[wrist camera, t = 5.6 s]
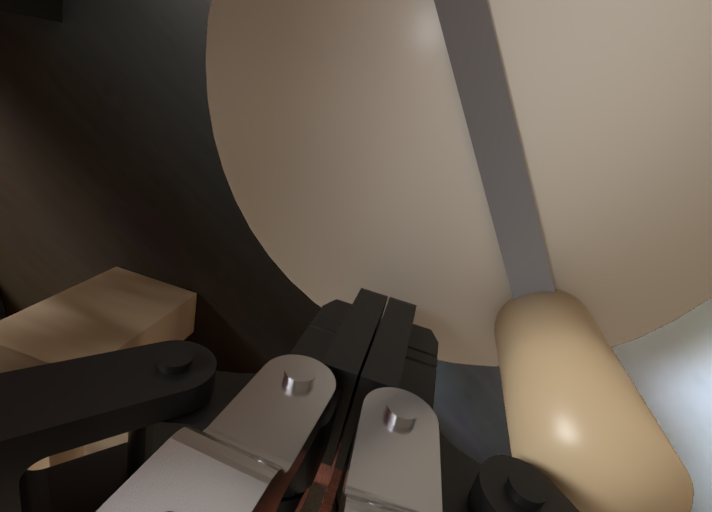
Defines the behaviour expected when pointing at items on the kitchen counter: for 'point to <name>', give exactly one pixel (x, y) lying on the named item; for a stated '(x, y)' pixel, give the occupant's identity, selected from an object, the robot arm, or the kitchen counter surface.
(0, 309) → the travel mug
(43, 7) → the cleaning product box
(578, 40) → the handwheel
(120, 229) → the kitchen counter surface
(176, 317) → the block
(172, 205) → the kitchen counter surface
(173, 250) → the kitchen counter surface
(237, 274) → the kitchen counter surface
